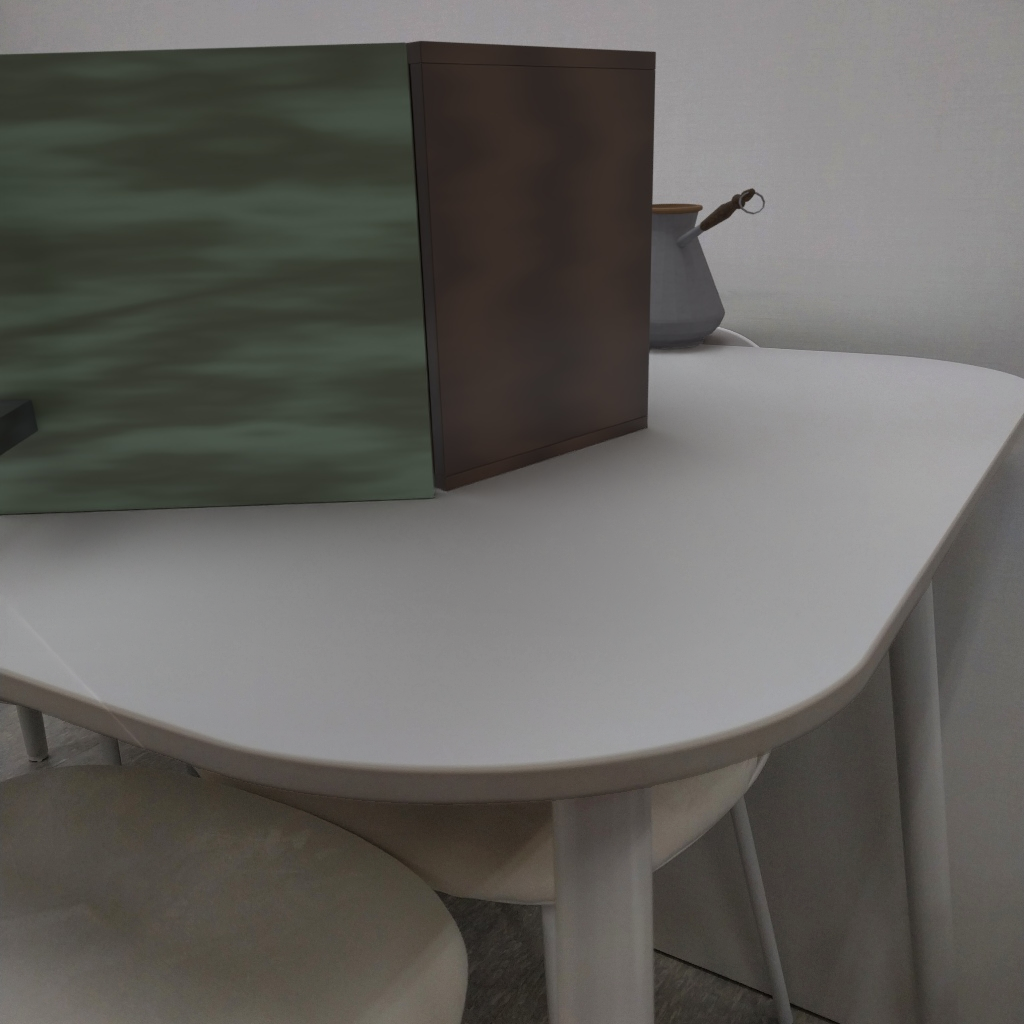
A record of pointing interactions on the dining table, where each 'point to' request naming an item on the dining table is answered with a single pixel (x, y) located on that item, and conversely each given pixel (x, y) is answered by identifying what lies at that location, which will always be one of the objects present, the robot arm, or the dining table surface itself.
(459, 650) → the dining table surface
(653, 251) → the coffee pot
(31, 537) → the dining table surface
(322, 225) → the cabinet door
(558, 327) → the cabinet
